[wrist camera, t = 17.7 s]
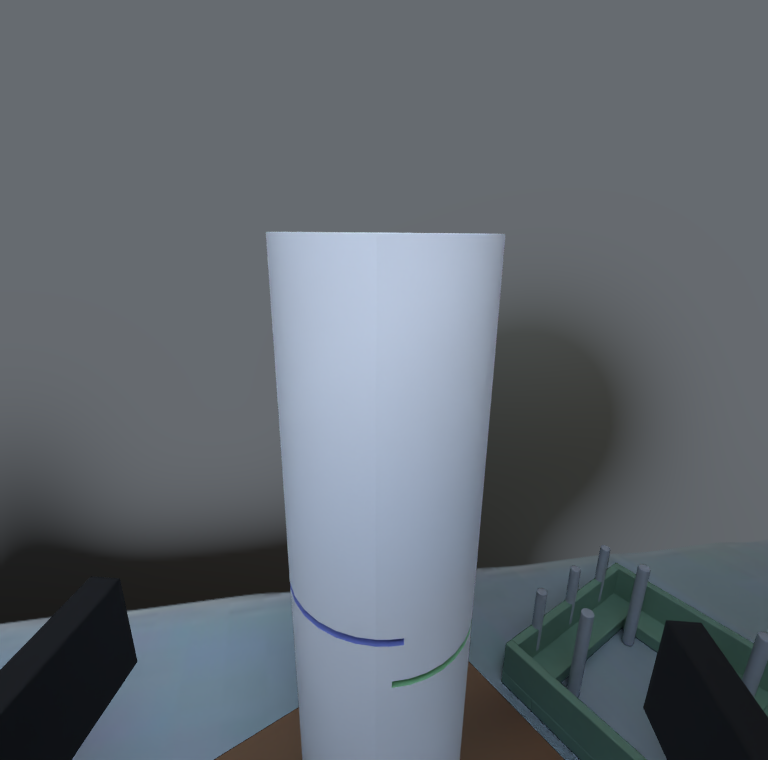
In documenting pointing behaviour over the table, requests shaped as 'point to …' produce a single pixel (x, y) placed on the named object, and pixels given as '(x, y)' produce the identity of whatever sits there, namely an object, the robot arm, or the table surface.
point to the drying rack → (589, 632)
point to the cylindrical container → (383, 478)
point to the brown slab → (478, 744)
